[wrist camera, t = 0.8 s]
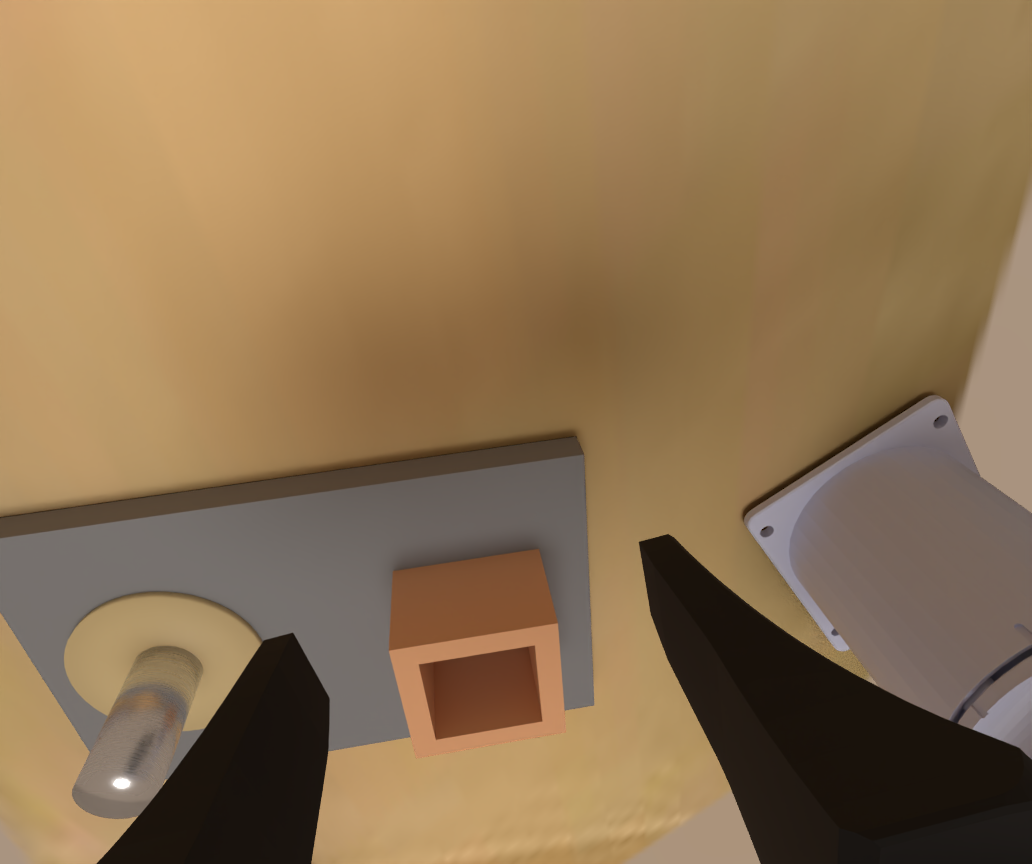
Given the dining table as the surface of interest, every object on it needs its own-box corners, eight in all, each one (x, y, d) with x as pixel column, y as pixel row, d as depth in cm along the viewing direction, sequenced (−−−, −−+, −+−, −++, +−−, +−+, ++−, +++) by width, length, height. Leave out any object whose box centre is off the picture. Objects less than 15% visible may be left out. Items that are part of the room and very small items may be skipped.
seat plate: (576, 436, 22) (585, 459, 20) (587, 681, 28) (596, 711, 26) (-20, 520, 20) (-50, 551, 19) (125, 760, 26) (109, 795, 25)
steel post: (227, 636, 24) (174, 792, 19) (186, 667, 24) (122, 828, 19) (178, 603, 23) (107, 759, 18) (135, 636, 23) (54, 797, 18)
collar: (539, 548, 22) (557, 623, 19) (548, 651, 25) (566, 732, 22) (392, 571, 22) (388, 650, 19) (416, 673, 24) (416, 758, 21)
